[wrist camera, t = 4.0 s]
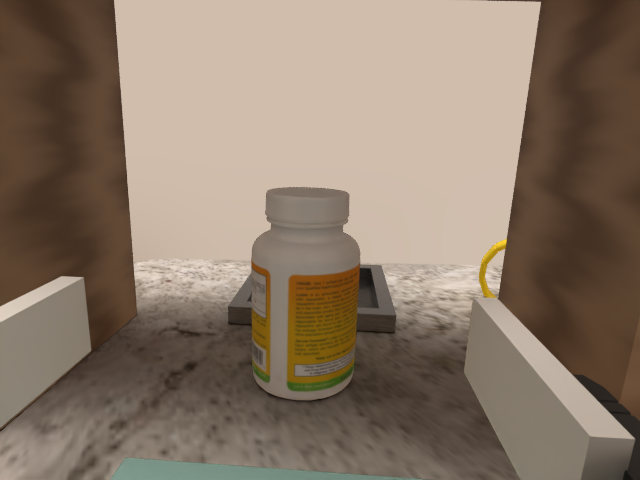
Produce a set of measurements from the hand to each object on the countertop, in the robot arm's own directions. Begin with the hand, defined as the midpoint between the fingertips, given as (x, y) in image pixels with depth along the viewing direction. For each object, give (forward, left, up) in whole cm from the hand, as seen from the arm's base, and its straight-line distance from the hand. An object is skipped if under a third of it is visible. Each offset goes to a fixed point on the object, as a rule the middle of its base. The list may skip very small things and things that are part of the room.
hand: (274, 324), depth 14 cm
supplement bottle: (+3, -6, -6) cm, 9 cm away
